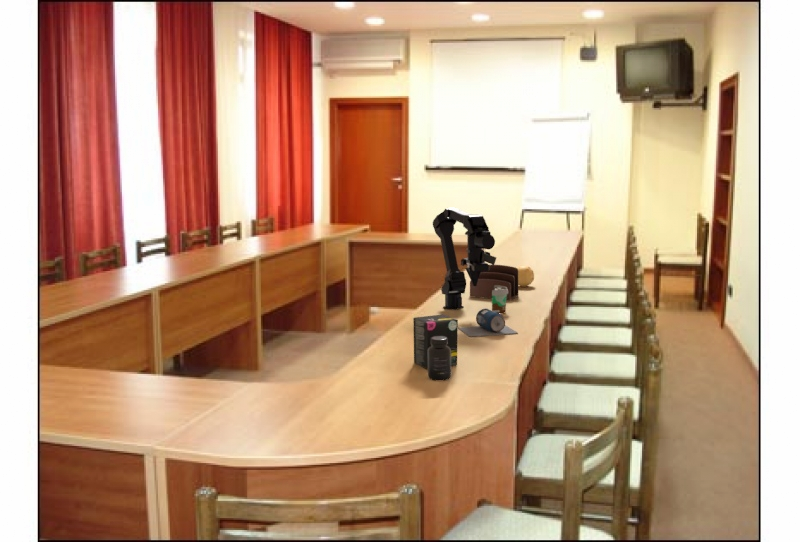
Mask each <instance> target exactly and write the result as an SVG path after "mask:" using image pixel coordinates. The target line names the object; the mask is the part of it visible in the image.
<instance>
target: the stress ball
mask: <svg viewBox="0 0 800 542" xmlns="http://www.w3.org/2000/svg"><path fill="white" fill-rule="evenodd" d="M516 268H517V269H518V286H519V287H522V288H525V287H528V286H529V285H531V284H532V283H533V282H534V279H535V273H534V270H533V269H532V268H531V267H529V266H527V265H520V266H518V267H516Z"/></svg>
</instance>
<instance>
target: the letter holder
mask: <svg viewBox="0 0 800 542" xmlns="http://www.w3.org/2000/svg"><path fill="white" fill-rule="evenodd" d="M488 265H489V266H490V270H489V271H482V272H481V273H480V275H479V278H478V282H477V286H473V284H472V282H471V280H470V281H469V297H470V296H475V297H474V298H480V297H484V298H483V299H492V290H493V289H494V285H497V286H504V287H507V289H508V294H507V297H506V301H512V300H514V299H516V298H518V297H519V285H518V269H517V268H518V267H515V266H511V265H505V264H504V265H502V264H494V265H492V264H488Z"/></svg>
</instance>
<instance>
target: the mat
mask: <svg viewBox="0 0 800 542" xmlns="http://www.w3.org/2000/svg"><path fill="white" fill-rule="evenodd" d="M458 330H460V331H461V332H462V333H464V335H466V336H468V337H469V338H475V337H476V336H480V337H489V336H488V335H494V336H505V335H504V334H508V335H518V333H519V332H518V331H516V330H514V329H513V328H510V327H509V326H507V325H506V324H505V326H504V328H503V329H502V330H501V331H498V332H492V331H490V330H487V329H485V328H483V327H481V326H479V325H476V326H475V325H474V326H460V327H458ZM476 338H477V337H476Z"/></svg>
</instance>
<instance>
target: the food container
mask: <svg viewBox="0 0 800 542" xmlns="http://www.w3.org/2000/svg"><path fill="white" fill-rule="evenodd" d="M507 294H508V289H507V287H504V286H497V285H494V289H493V290H492V298H491V311H494V312H496V313H498V314H499V313H503V314H505V313H506V309H507V300H506V297H507ZM504 312H505V313H504Z"/></svg>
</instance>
